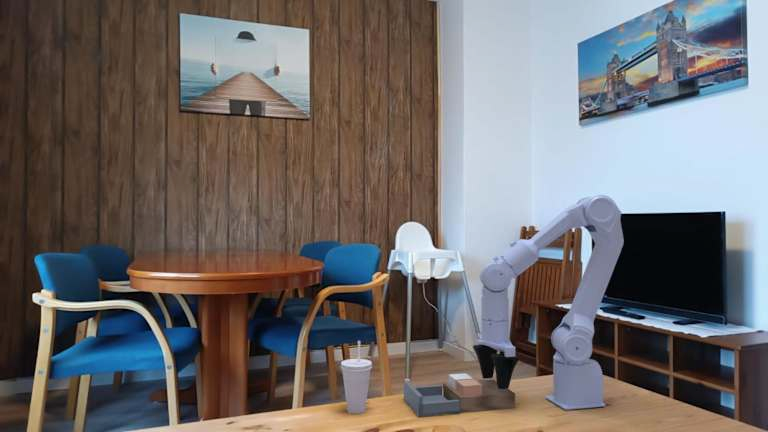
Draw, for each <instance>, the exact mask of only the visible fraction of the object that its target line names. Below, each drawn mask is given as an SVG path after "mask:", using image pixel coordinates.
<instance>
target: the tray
mask: <svg viewBox="0 0 768 432" xmlns="http://www.w3.org/2000/svg"><path fill="white" fill-rule="evenodd" d="M403 400H404V402H407V403H406V404H407V406H409V408H411V410H412V409H413V410H414V411H415V412H414V411H413V410H412V411H413V412H414V414H416V415H418V416H417V417H418V418H426V417H436V416H435V415H438V416H444V415H443V414H450V415H460V414H461V413H460V401H459V400H447V399H446V398H445V397H444V396H443V384H437V385H434V384H433V385H421V386H413V385H412V383H411V382H410V381H409V380H406V379H405V380H403Z"/></svg>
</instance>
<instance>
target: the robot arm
mask: <svg viewBox="0 0 768 432" xmlns="http://www.w3.org/2000/svg"><path fill="white" fill-rule="evenodd" d="M621 217H622V211H621V210H620V208H619V207H618V205H617V203H616V202H615V200H613V199H612V198H611V197H610V196H608V195H605V194H596V195H594V196H586V197H583V198H580V199H579V200H578V201H577V202H576V203H574V204H572V205H569V206H568V207H567V208H565V209H564V210H562V211H561V212H559V214H557V215H556V216H555V217H553V219H552V220H550V222H548V223H547V224H546V225H544V226H543V228H541V229H540V230H539V231H538V232H536V233H535V234H534V235H533V236H532V237H530V239H524V238H523V239H522V238H521V239H519V240H518V241H516V240H512V241H511V243H509V245H510V247H509V248H507V249H506V250H505V251H504V252H502V253H500V255H495V256H494V257H493V258H492V260H493V261H494V262H489V263H487V264H485V265H484V266H483V267H482V269H481V271H480V274H479V279H480V282H481V284H482V288H481V294H482V296H481V332H480V333H476V334H477V335H476V338H477V339H476V344H473V346H472V349H473V350H474V352H475V355H476V357H477V359H478V363H479V367H480V372H481V376H482V379H483V380H487V379H493V378H494V373H495V380H496V381H497V386H498V388H499V389H509V388H510V384H511V379H512V376H513V373H514V370H515V368H516V366H517V364H518V363H519V361H520V356H519V355H518V354H516V346H514V345H513V344H512V342H511V340H510V334H509V333H510V320H509V318H510V316H509V314H510V311H509V309H510V307H509V303H510V301H509V300H510V298H509V297H508V296H509V295H508V294H509V292H508V291H509V287H510V285H511V283H512V279H516V278H517V277H518V276H519V275H521V274H522V273H524V272H525V271H526V270H527V269H528V268H530V267H531V266H533V264H535V263H536V262H537V261H539V257H540V251H541V250H543V249H544V248H545V247H547V246H548V245H550V244H551V243H552V242H554V241H555V240H557V239H558V238H559V237H561V236H562V235H564V234H565V233H566V232H568V231H569V230H570V229H576V228H582V227H583V228H585V229H586V230H587V232H588V234H589V235H590V236H591V238H592V240H593V242H594V246H593V249H592V252H591V254H590V257H589V259H588V262H587V264H586V266H585V270H584V272H583V275H582V277H581V280H580V282H579V284H578V288H577V291H576V292H575V296H574V298H573V301H572V303H571V305H570V308H569V311H568V312H567V313H566V314H565V315H564V316H563V318H562V320H561V323H560V324H559V325H558V326H557V327H556V328H554V330H553V331H552V333H551V338H550V340H551V341H550V342H551V345H552V347H553V348H554V349H555V350H556V351H555V353H554V355H553V357H552V358H553V359H552V361H553V363H552V368H553V369H552V371H553V375H552V376H553V377H552V378H553V394H552V395H551V394H549V395H545V396H544V398H545V399H546V400H547V401H550V403H551V402H552V403H553V404H555V405H557V406H558V407H559V408H561V409H563V410H566V411H567V410H568V411H569V410H581V409H591V408H601V407H606V403H605V402H604V385H603V384H604V376H603V371H602V368H601V367H602V366H601V365H600V364H599V362H598V361H596V360H595V359H591V356H592V354H593V338H594V335H595V326H594V322H595V318H596V316H597V313H598V311H599V308H600V306H601V304H602V300H603V297H604V295H605V293H606V290H607V288H608V285H609V283H610V281H611V278H612V275H613V272H614V269H615V266H617V265H616V264H617V261H618V259H619V257H620V255H621V252H622V248H623V247H624V242H625V241H624V233H623V229H622V227H623V226H622V222H621ZM498 352H499V353H498Z"/></svg>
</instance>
